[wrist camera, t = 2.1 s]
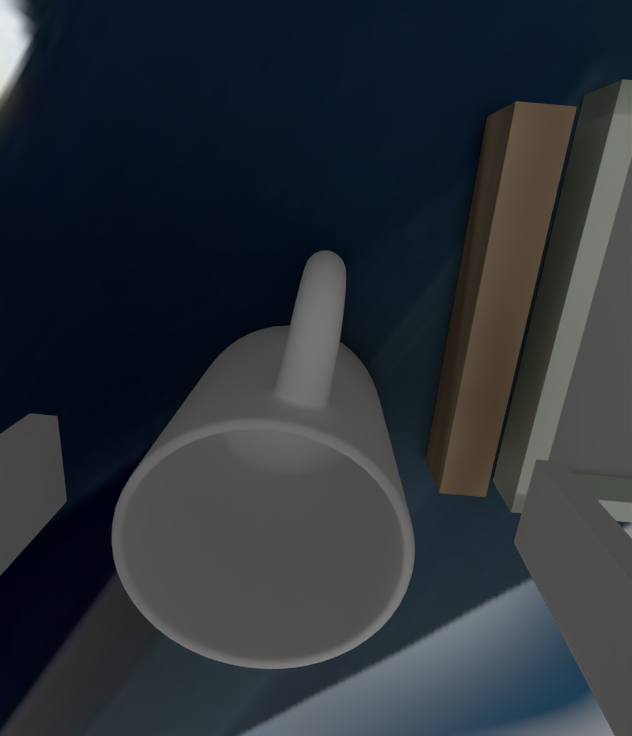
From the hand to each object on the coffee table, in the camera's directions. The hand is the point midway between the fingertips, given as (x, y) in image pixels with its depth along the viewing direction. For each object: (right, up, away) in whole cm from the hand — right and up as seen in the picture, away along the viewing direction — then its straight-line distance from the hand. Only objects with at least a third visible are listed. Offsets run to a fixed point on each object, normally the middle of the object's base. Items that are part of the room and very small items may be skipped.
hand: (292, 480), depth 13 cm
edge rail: (+8, +6, +8) cm, 12 cm away
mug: (0, +3, +9) cm, 10 cm away
